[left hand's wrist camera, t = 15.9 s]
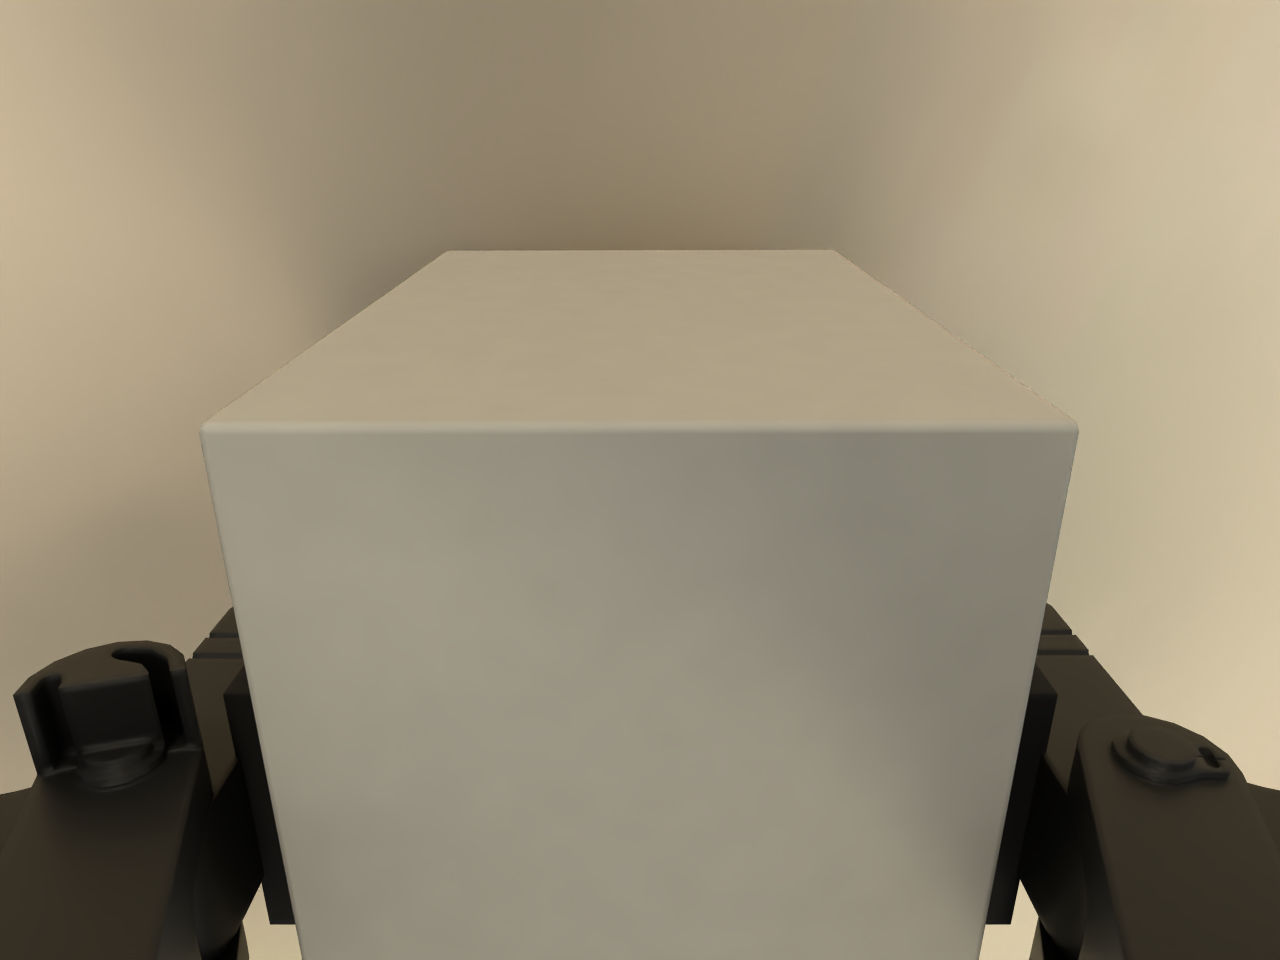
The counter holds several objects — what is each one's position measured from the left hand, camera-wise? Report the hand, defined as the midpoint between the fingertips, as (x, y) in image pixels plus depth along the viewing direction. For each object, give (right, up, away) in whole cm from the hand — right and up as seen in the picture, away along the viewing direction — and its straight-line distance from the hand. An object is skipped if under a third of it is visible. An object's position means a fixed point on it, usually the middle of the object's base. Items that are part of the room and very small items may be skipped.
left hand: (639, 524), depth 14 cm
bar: (0, -29, +12) cm, 31 cm away
